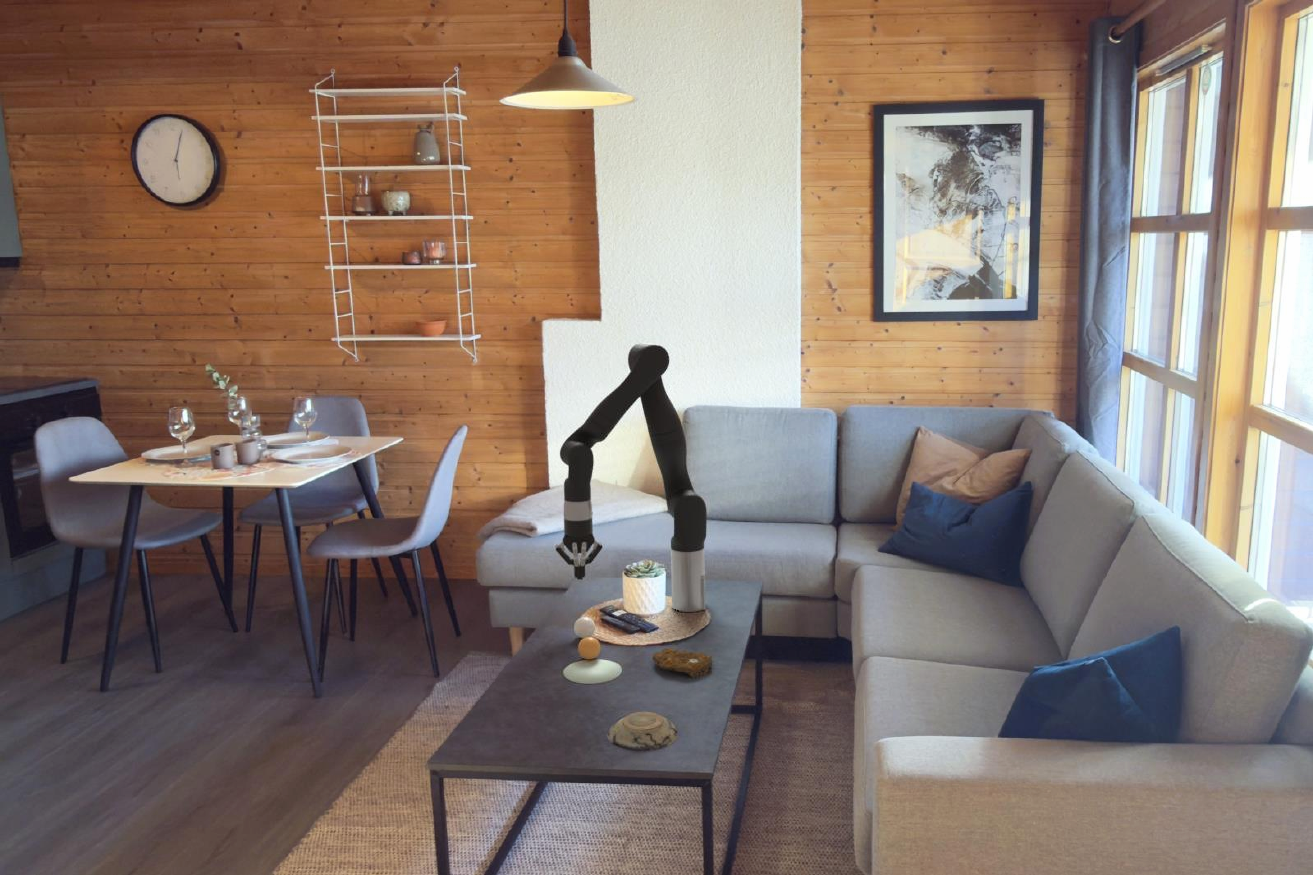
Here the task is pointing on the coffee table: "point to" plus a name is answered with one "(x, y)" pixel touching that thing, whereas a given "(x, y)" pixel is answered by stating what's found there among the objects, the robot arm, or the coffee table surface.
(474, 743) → the coffee table surface
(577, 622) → the cue ball
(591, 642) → the object ball
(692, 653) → the decorative rock
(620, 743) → the decorative bowl
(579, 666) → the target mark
